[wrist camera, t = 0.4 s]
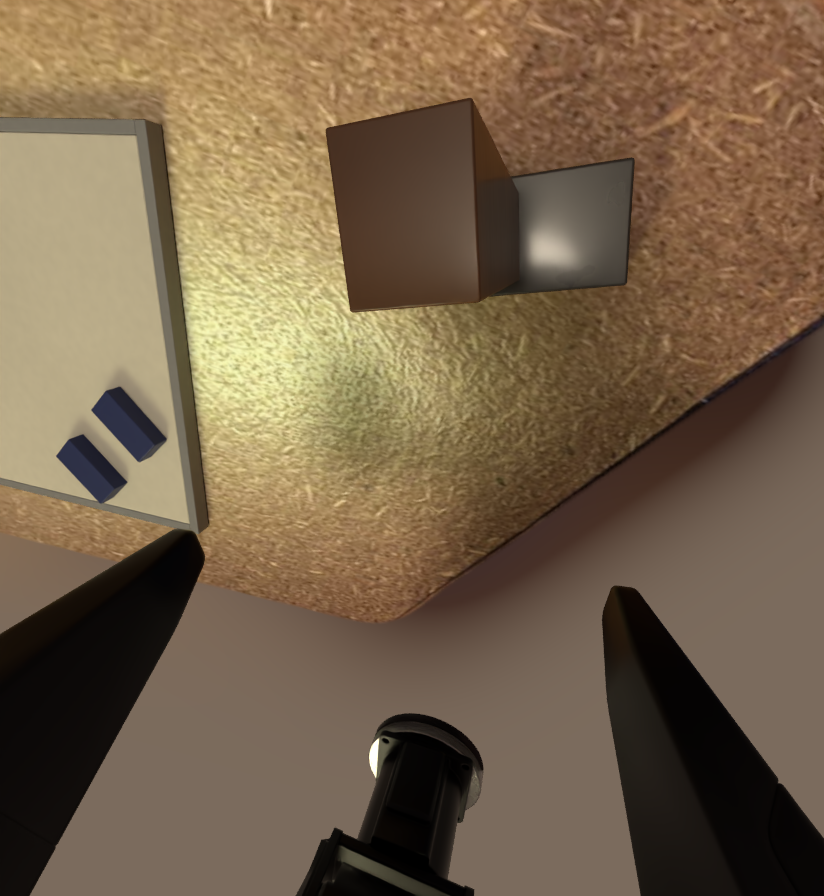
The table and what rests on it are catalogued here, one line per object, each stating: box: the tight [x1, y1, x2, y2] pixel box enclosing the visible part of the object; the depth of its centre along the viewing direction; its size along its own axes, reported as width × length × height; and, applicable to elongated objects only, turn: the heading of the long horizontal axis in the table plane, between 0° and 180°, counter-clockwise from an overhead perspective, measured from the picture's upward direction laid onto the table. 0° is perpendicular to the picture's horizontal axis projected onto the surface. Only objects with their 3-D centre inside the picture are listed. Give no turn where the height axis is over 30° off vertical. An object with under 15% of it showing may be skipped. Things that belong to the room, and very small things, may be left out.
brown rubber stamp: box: [326, 98, 635, 312], centre depth 14 cm, size 4×10×13 cm, turn 96°
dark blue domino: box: [91, 387, 167, 462], centre depth 27 cm, size 4×2×1 cm, turn 41°
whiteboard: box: [0, 117, 209, 534], centre depth 28 cm, size 22×20×1 cm
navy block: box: [56, 434, 127, 504], centre depth 29 cm, size 4×2×1 cm, turn 41°
